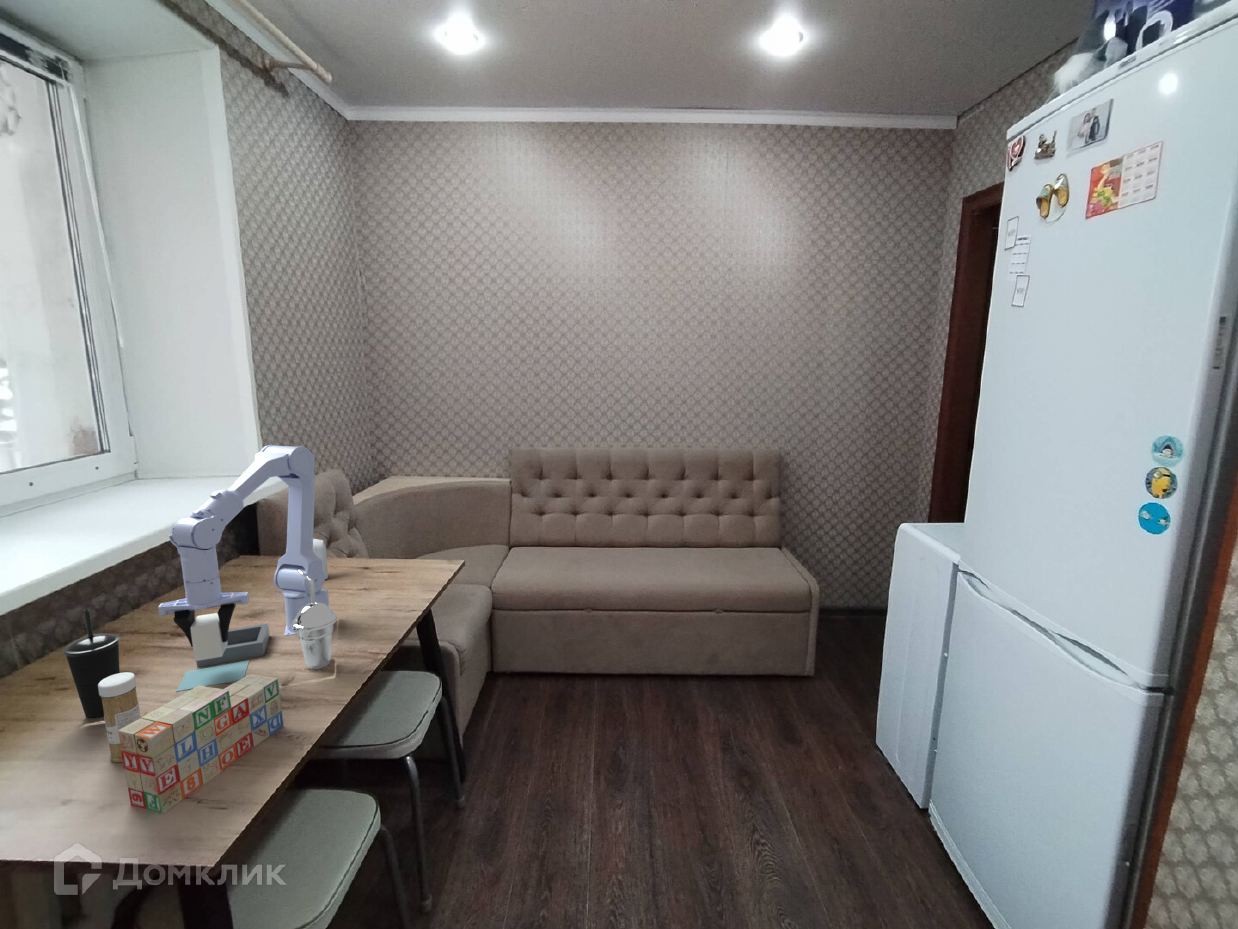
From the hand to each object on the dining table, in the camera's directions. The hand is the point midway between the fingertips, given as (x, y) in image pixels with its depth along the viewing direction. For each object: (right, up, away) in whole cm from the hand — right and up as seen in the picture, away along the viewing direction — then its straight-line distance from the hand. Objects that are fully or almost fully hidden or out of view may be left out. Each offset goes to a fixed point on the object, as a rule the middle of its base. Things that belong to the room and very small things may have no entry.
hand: (210, 642), depth 118 cm
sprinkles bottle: (+2, -12, -22) cm, 25 cm away
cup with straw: (+19, -7, +6) cm, 21 cm away
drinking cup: (-12, -10, -10) cm, 19 cm away
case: (-2, -6, +12) cm, 13 cm away
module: (0, -2, +1) cm, 2 cm away
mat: (0, -8, +1) cm, 8 cm away
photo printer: (-8, +2, +54) cm, 54 cm away
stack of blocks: (+17, -12, -23) cm, 31 cm away
